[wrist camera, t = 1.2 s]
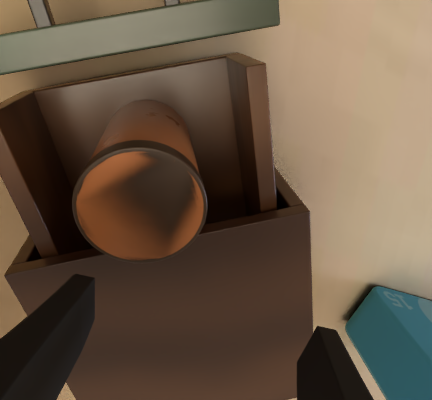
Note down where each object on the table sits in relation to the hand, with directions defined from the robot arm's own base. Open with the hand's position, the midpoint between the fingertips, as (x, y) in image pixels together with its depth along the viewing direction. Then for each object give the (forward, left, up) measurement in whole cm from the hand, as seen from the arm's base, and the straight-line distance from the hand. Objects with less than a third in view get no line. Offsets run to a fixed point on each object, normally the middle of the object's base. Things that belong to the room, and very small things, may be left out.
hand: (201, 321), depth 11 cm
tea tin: (-3, +2, -10) cm, 11 cm away
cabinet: (+3, -6, -12) cm, 13 cm away
